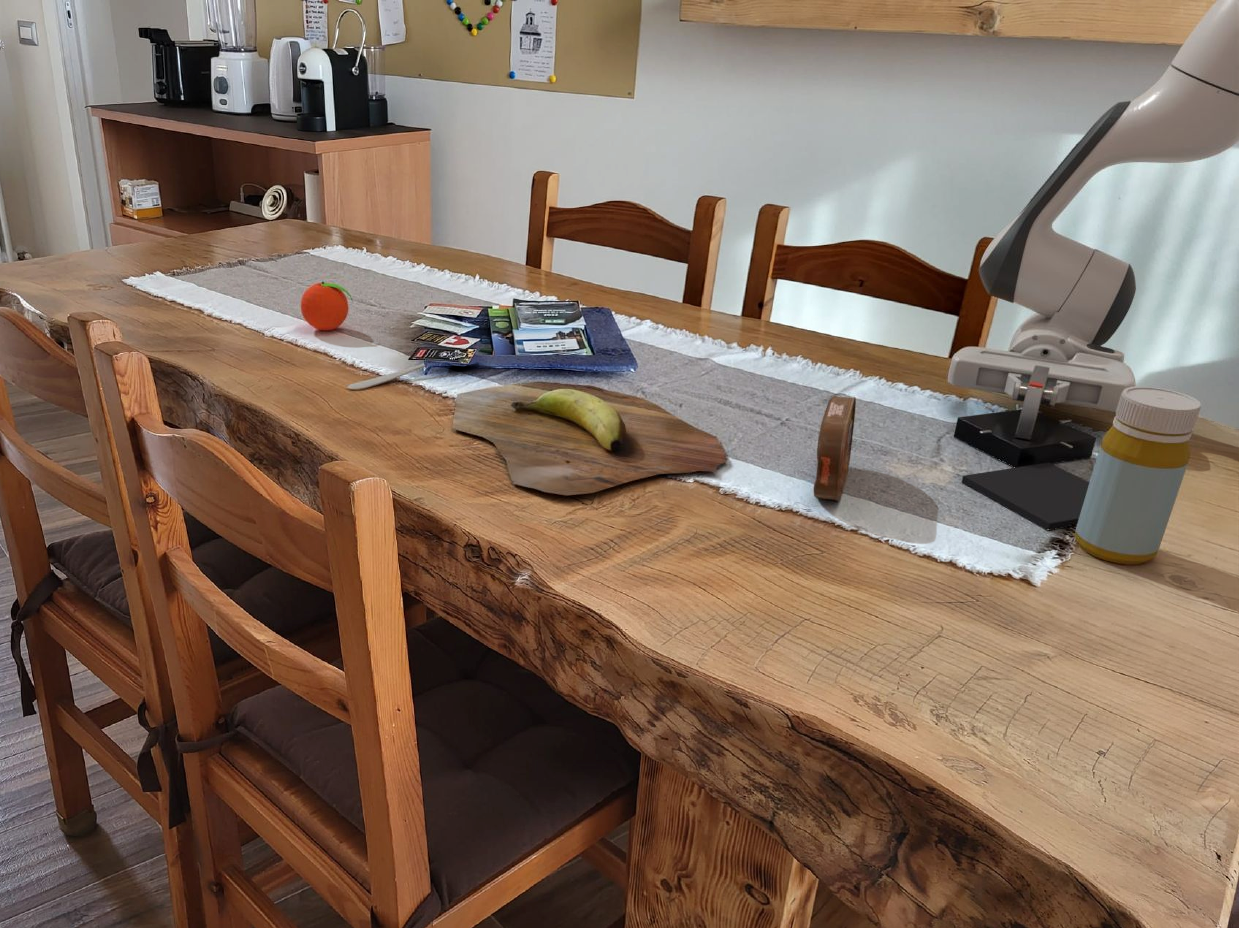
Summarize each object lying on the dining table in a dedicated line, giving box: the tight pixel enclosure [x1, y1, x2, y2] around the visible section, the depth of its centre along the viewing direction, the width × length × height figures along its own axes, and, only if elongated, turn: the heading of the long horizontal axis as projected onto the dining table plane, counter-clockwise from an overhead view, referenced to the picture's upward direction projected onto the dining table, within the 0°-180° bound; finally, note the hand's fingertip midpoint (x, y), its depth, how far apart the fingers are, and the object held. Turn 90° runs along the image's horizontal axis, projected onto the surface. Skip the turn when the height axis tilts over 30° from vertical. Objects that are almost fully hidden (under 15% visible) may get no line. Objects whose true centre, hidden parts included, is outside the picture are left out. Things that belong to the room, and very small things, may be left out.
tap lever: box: [1015, 365, 1050, 440], centre depth 117 cm, size 9×2×6 cm, turn 152°
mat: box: [961, 463, 1090, 531], centre depth 107 cm, size 12×12×1 cm
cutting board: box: [452, 381, 729, 496], centre depth 119 cm, size 35×27×4 cm
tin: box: [813, 396, 857, 502], centre depth 107 cm, size 15×3×8 cm, turn 160°
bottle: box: [1074, 386, 1202, 566], centre depth 94 cm, size 7×7×15 cm
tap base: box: [953, 406, 1097, 468], centre depth 119 cm, size 13×13×3 cm
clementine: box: [300, 281, 354, 332], centre depth 152 cm, size 8×7×7 cm
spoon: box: [346, 363, 425, 391], centre depth 136 cm, size 4×21×2 cm, turn 128°
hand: (1034, 396), depth 119 cm, fingers closed on tap lever, 2 cm apart
